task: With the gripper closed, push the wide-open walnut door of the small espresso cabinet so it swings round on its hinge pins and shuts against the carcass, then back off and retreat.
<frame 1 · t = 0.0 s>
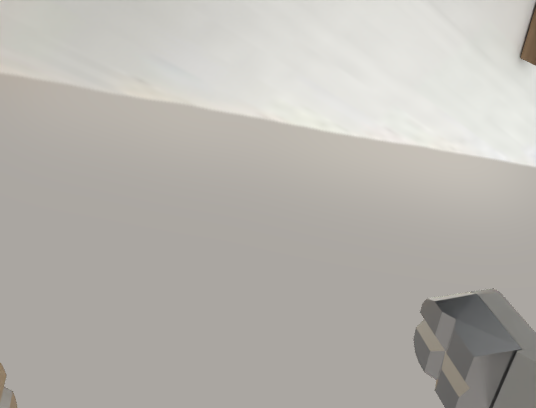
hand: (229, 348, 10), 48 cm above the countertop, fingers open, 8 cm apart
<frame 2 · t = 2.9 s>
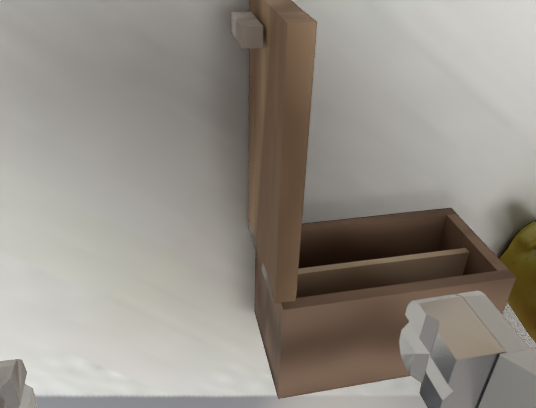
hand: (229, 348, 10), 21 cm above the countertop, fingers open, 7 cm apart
door: (263, 154, 27), point 4 cm above the countertop, hinge at 90.0°
mug: (529, 241, 43), on the countertop
cabinet: (351, 260, 39), on the countertop
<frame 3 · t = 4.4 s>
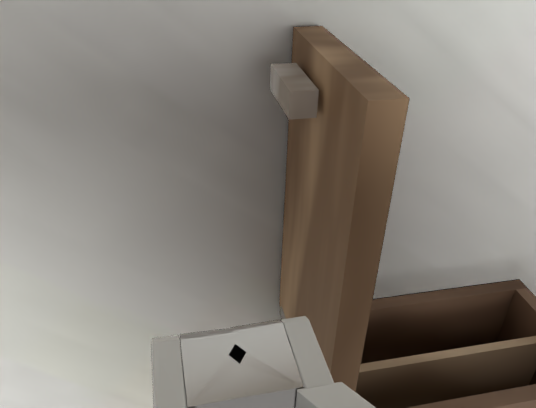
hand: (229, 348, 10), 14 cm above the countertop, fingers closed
door: (308, 244, 21), point 4 cm above the countertop, hinge at 90.0°
cabinet: (398, 340, 33), on the countertop
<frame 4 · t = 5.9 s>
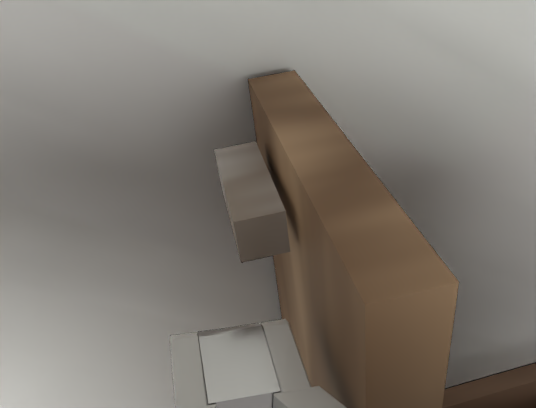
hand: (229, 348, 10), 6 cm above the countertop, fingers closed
door: (314, 406, 14), point 4 cm above the countertop, hinge at 87.8°, touching gripper
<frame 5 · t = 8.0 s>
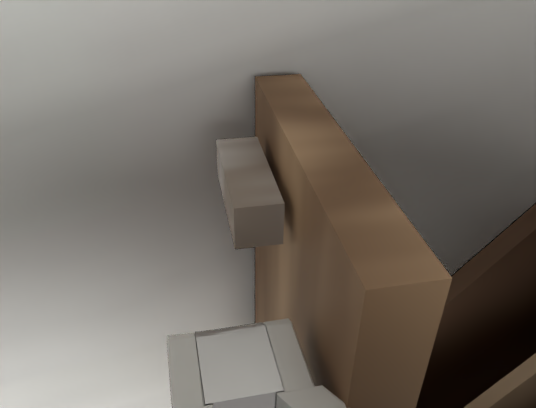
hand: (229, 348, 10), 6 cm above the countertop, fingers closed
door: (282, 401, 14), point 4 cm above the countertop, hinge at 40.3°, touching gripper
cabinet: (466, 346, 22), on the countertop
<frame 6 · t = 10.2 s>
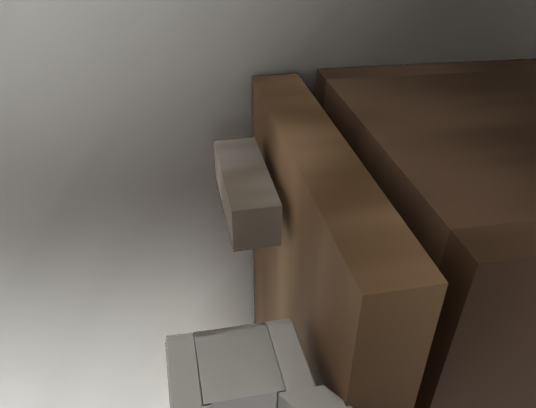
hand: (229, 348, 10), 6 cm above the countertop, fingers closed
door: (282, 399, 14), point 4 cm above the countertop, hinge at 1.2°, touching gripper
cabinet: (406, 265, 18), on the countertop
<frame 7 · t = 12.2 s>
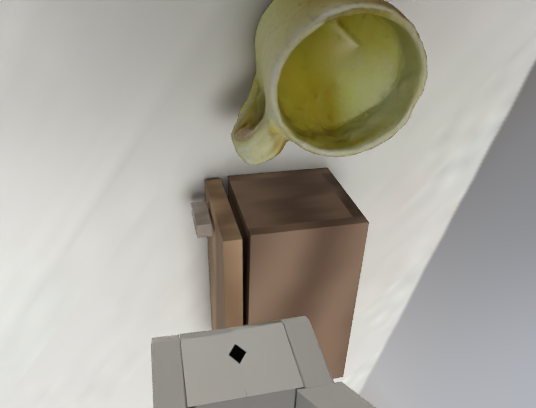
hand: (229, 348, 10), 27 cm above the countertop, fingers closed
door: (217, 296, 39), point 4 cm above the countertop, hinge at 1.1°
mug: (290, 60, 35), on the countertop
cabinet: (274, 250, 43), on the countertop
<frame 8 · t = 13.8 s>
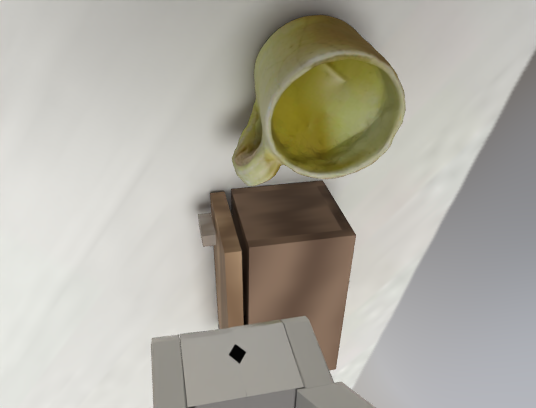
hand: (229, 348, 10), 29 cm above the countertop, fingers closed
door: (221, 296, 43), point 4 cm above the countertop, hinge at 1.1°
mug: (287, 86, 39), on the countertop
cabinet: (274, 253, 47), on the countertop
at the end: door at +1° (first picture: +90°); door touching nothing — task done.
